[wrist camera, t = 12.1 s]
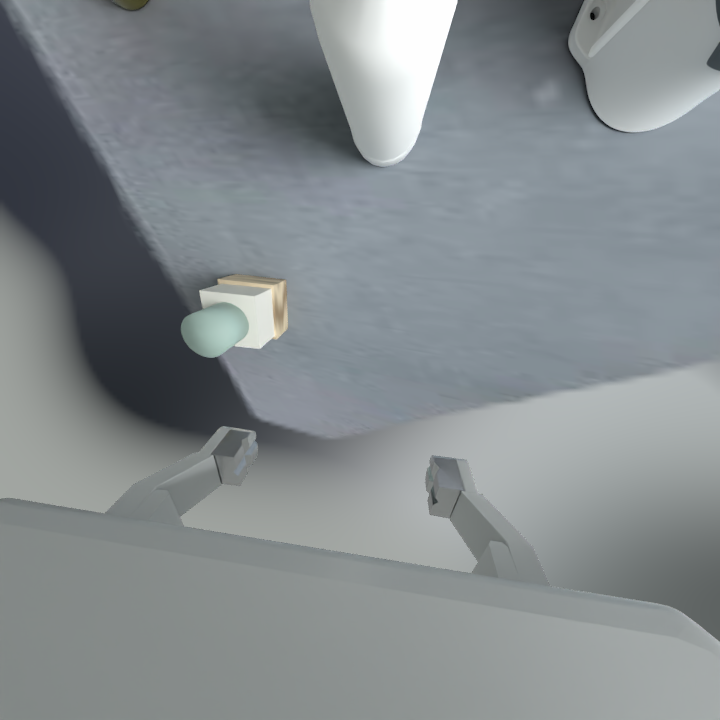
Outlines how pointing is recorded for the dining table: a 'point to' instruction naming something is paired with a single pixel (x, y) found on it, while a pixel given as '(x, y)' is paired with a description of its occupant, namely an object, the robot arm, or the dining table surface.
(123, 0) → the yellow tiered cone
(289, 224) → the dining table surface
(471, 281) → the dining table surface
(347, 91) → the bottle
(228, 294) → the tower top
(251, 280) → the tower base
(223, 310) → the pale green rounded block
